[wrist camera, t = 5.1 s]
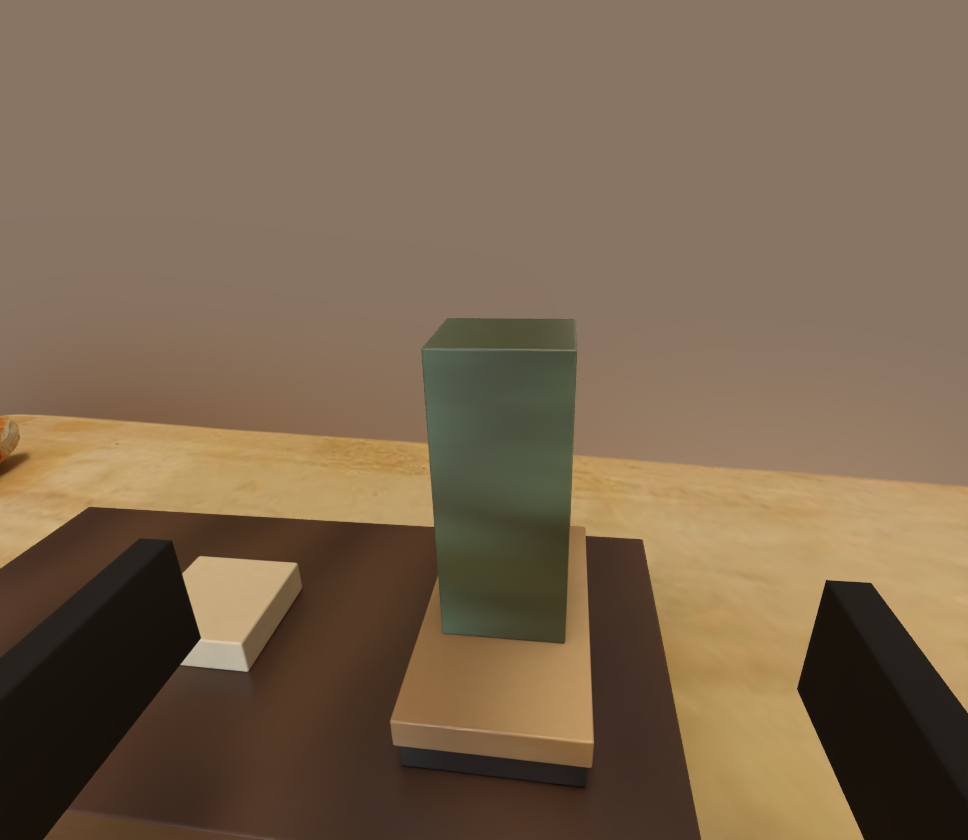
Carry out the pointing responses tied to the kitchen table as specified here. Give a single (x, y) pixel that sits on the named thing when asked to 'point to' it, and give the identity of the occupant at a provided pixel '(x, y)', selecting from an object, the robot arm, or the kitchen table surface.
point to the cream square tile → (237, 608)
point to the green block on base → (502, 561)
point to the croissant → (8, 437)
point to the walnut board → (351, 699)
